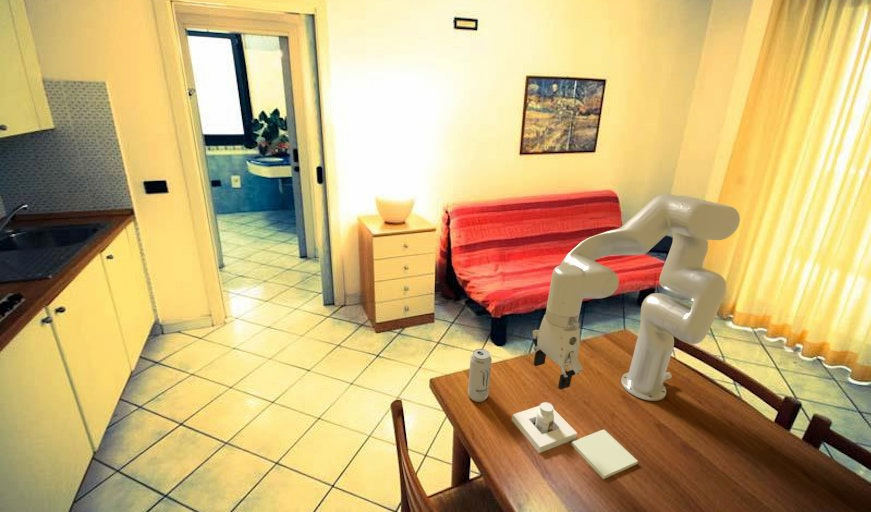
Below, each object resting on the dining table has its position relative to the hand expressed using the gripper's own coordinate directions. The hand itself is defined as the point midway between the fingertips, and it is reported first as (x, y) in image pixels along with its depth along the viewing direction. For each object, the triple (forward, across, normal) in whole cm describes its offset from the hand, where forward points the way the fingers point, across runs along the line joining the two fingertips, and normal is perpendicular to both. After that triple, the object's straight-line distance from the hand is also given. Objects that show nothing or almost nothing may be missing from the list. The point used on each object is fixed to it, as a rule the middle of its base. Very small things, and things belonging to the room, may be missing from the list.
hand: (550, 375), depth 103 cm
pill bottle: (+18, 0, -1) cm, 18 cm away
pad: (+18, -12, -10) cm, 24 cm away
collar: (+18, 0, -1) cm, 18 cm away
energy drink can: (+18, +18, +9) cm, 27 cm away
